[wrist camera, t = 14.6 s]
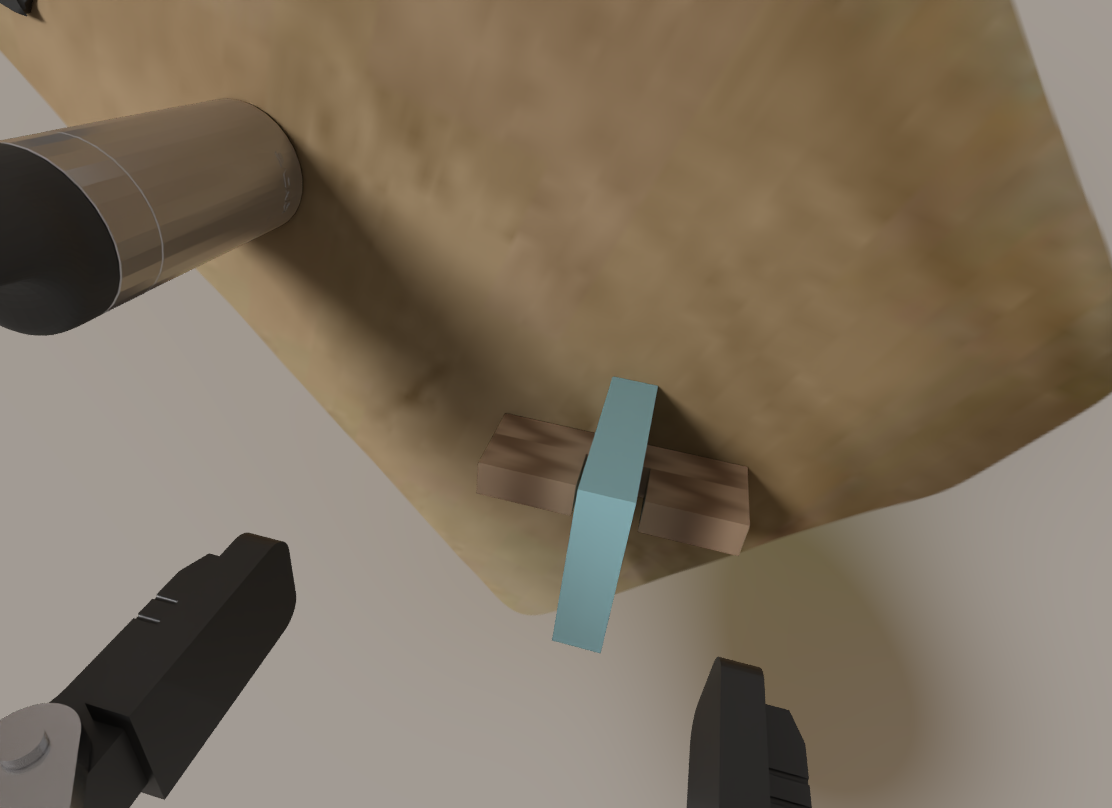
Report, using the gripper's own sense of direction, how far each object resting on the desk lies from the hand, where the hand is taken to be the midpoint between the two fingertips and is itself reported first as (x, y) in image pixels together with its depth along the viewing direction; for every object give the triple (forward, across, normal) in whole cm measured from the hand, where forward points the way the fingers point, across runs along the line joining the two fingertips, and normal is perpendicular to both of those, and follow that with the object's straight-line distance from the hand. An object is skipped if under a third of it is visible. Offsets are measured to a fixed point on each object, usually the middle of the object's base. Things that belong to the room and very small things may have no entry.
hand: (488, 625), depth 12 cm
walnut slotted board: (+36, -1, +22) cm, 42 cm away
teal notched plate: (+36, -1, +22) cm, 42 cm away
